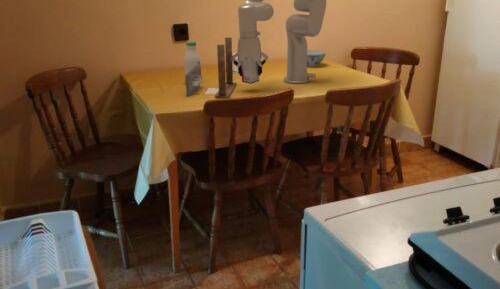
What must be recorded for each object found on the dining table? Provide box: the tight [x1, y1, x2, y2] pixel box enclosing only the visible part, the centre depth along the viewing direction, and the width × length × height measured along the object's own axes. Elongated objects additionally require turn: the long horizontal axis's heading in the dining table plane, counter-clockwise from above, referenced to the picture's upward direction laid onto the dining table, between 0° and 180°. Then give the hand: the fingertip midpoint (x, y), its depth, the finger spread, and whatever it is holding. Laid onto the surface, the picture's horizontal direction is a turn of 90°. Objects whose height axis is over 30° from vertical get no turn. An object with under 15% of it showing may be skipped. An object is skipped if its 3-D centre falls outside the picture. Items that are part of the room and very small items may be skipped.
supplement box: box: [241, 57, 260, 85], centre depth 198 cm, size 6×6×12 cm
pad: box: [204, 87, 219, 95], centre depth 202 cm, size 10×10×1 cm
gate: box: [214, 37, 238, 99], centre depth 198 cm, size 6×24×22 cm, turn 174°
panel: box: [184, 66, 204, 98], centre depth 202 cm, size 4×20×10 cm, turn 174°
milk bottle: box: [183, 40, 202, 82], centre depth 216 cm, size 8×8×20 cm
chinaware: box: [307, 49, 326, 68], centre depth 254 cm, size 15×15×8 cm
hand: (250, 74), depth 199 cm, fingers closed on supplement box, 7 cm apart
